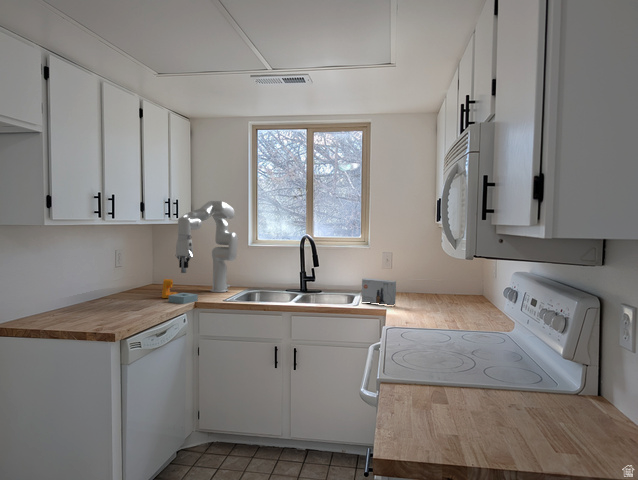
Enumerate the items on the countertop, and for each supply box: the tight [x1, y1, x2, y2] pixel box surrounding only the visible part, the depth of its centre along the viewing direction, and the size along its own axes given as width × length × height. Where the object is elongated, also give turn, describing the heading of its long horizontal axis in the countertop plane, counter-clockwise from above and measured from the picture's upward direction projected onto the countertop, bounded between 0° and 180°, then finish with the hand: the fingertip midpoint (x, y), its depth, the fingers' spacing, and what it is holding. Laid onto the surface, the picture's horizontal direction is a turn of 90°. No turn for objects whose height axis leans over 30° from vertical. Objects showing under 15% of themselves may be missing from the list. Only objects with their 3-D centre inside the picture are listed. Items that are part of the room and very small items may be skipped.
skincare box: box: [361, 277, 397, 305], centre depth 267 cm, size 21×5×16 cm, turn 62°
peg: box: [180, 256, 187, 274], centre depth 260 cm, size 3×3×10 cm
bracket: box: [161, 278, 178, 299], centre depth 272 cm, size 11×7×12 cm, turn 5°
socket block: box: [168, 292, 199, 305], centre depth 261 cm, size 12×12×4 cm
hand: (183, 267), depth 260 cm, fingers closed on peg, 3 cm apart
